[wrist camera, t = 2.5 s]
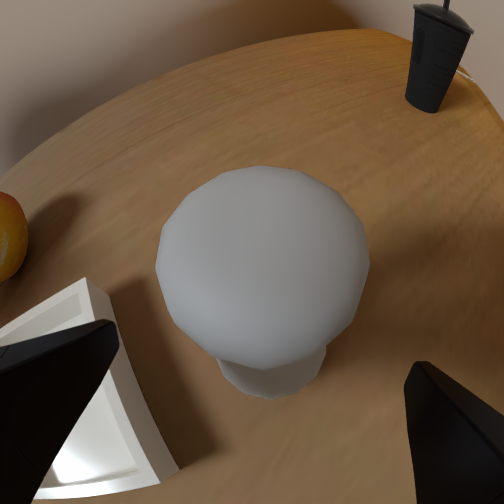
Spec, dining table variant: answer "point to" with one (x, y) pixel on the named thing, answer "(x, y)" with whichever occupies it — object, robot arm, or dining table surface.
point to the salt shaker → (263, 274)
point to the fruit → (11, 236)
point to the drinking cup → (435, 54)
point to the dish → (98, 409)
